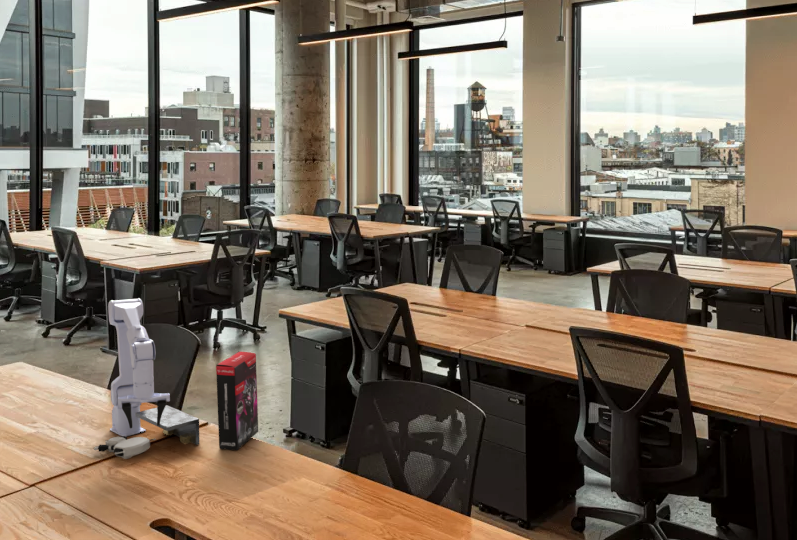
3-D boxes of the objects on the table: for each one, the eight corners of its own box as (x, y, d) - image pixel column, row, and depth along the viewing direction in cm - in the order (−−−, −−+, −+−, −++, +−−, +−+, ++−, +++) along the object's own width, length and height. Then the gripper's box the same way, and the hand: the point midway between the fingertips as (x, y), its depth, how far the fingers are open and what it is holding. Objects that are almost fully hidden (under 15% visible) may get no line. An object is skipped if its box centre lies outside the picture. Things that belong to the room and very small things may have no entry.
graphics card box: (237, 452, 229) (236, 365, 226) (216, 450, 231) (215, 363, 227) (258, 432, 246) (258, 352, 242) (238, 431, 247) (238, 350, 244)
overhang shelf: (136, 437, 240) (135, 412, 239) (167, 429, 248) (166, 405, 247) (168, 453, 227) (167, 427, 226) (199, 443, 235) (199, 418, 234)
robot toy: (91, 458, 225) (126, 464, 218) (89, 443, 225) (125, 449, 218) (123, 445, 236) (158, 450, 229) (122, 431, 235) (157, 436, 228)
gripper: (116, 387, 214) (118, 432, 216) (169, 383, 219) (170, 428, 221) (117, 380, 221) (119, 424, 223) (169, 377, 226) (170, 420, 228)
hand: (144, 426), depth 222 cm, fingers open, 7 cm apart
